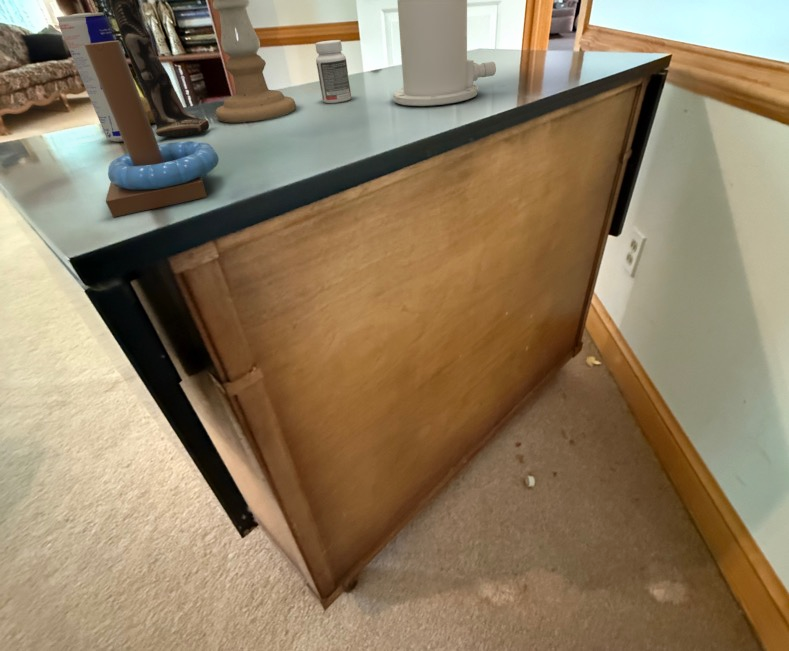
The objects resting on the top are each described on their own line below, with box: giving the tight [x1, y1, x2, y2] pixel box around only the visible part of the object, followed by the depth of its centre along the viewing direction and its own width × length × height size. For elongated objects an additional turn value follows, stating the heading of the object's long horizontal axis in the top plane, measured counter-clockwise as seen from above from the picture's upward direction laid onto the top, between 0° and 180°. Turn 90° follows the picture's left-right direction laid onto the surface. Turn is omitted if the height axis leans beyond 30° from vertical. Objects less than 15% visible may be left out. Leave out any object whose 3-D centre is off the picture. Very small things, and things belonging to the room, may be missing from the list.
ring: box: [107, 140, 220, 190], centre depth 44 cm, size 10×10×2 cm
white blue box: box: [56, 12, 124, 143], centre depth 63 cm, size 6×6×15 cm
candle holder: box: [212, 0, 297, 124], centre depth 68 cm, size 12×12×20 cm
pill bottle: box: [314, 39, 352, 104], centre depth 74 cm, size 5×5×8 cm
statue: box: [108, 0, 210, 138], centre depth 59 cm, size 4×7×20 cm, turn 95°
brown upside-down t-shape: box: [84, 40, 208, 218], centre depth 41 cm, size 8×8×12 cm
